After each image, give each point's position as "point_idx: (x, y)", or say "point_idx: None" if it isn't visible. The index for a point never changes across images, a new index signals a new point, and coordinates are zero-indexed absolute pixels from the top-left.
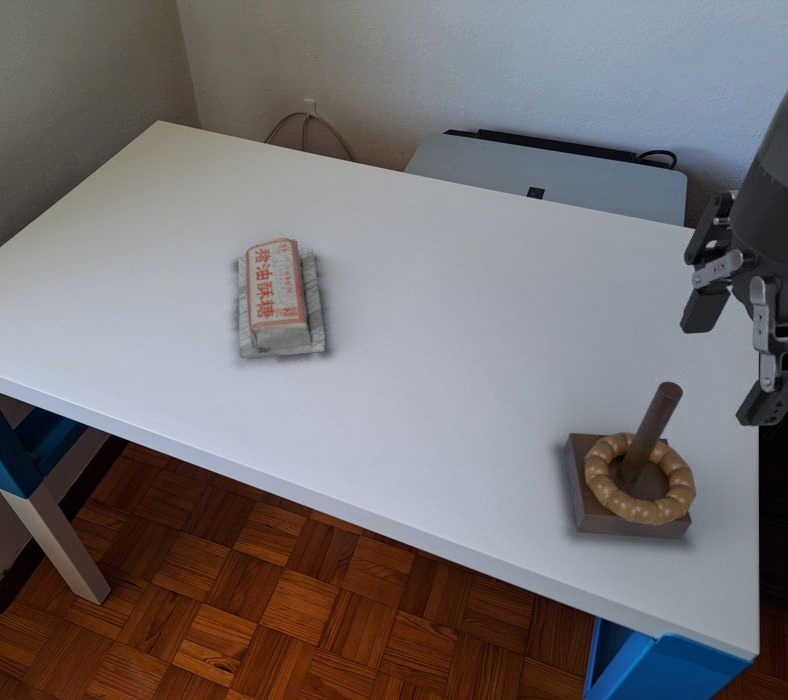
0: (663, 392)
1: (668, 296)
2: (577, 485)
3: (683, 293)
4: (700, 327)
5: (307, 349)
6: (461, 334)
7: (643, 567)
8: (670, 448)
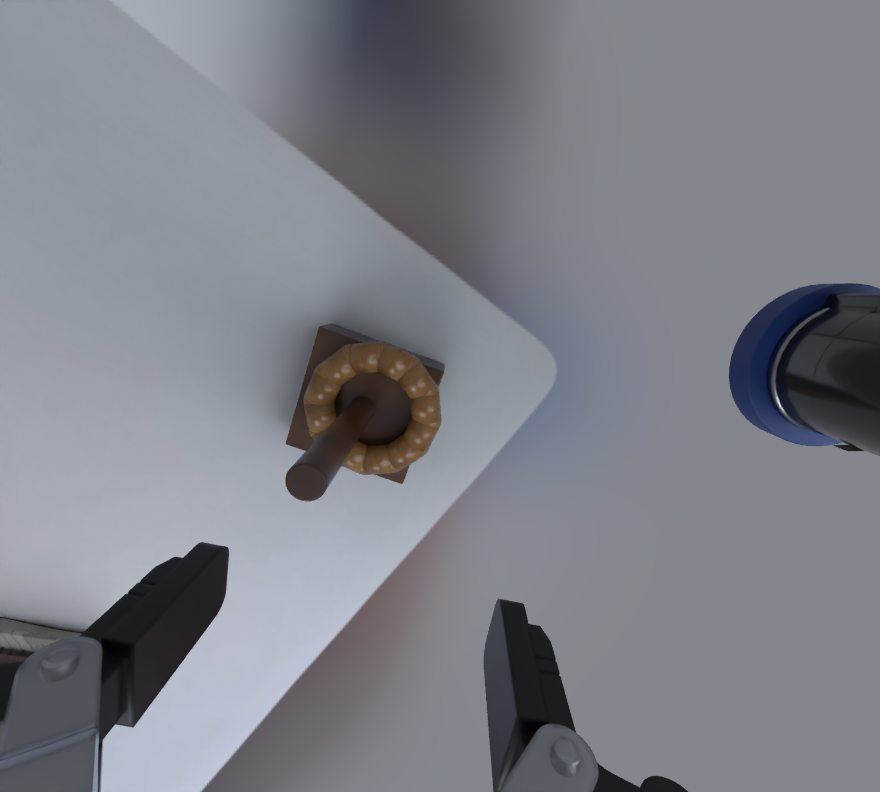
0: (309, 498)
1: (18, 104)
2: None
3: (11, 70)
4: (217, 583)
5: None
6: (84, 469)
7: (463, 422)
8: (345, 357)
